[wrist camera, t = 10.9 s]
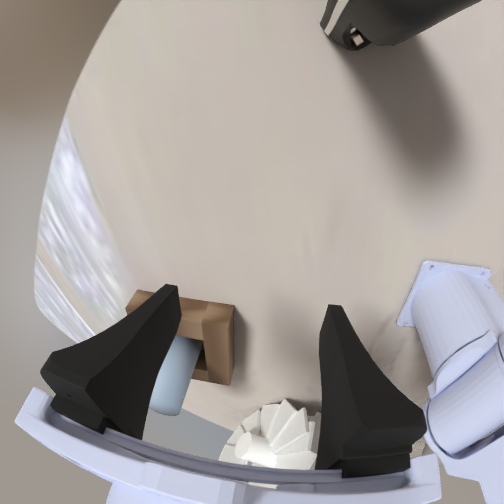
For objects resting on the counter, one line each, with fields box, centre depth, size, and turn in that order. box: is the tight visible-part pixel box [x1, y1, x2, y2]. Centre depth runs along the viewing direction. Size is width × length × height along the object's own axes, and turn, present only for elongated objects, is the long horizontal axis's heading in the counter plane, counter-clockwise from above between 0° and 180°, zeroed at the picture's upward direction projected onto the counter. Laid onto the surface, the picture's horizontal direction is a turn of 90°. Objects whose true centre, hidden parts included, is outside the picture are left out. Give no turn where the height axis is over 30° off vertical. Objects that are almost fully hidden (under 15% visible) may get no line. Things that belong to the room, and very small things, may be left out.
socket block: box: [125, 290, 234, 386], centre depth 29 cm, size 11×11×3 cm
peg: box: [149, 335, 203, 416], centre depth 26 cm, size 4×4×10 cm
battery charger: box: [320, 0, 481, 51], centre depth 8 cm, size 7×4×11 cm, turn 133°
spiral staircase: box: [218, 399, 321, 489], centre depth 32 cm, size 18×18×25 cm
